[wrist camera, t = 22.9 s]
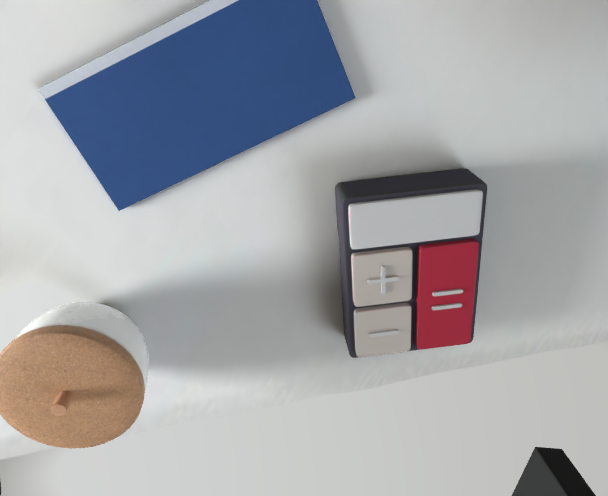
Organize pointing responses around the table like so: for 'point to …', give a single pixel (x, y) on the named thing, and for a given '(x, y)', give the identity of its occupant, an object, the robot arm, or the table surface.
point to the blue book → (198, 92)
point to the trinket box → (74, 376)
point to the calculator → (410, 260)
